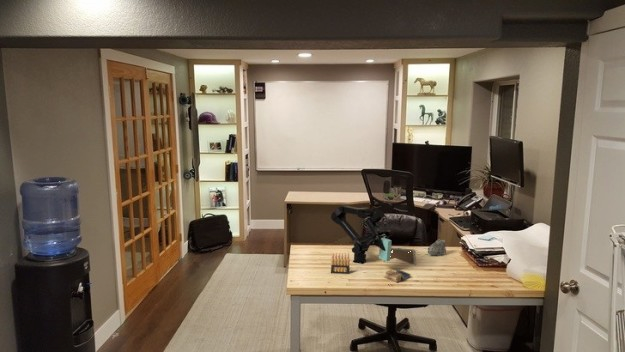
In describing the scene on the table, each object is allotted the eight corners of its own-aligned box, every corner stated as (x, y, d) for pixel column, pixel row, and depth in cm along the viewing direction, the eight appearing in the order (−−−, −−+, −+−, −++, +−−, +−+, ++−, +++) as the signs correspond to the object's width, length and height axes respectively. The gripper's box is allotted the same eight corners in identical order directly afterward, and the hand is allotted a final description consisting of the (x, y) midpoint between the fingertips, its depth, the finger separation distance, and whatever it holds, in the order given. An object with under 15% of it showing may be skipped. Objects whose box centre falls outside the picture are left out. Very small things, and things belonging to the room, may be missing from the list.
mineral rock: (427, 256, 275) (428, 241, 273) (424, 250, 285) (425, 236, 283) (448, 257, 274) (449, 242, 272) (444, 251, 284) (445, 236, 282)
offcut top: (385, 273, 238) (386, 271, 238) (390, 271, 241) (390, 269, 241) (397, 278, 232) (397, 276, 232) (402, 276, 235) (402, 274, 235)
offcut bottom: (385, 277, 239) (385, 275, 239) (390, 275, 242) (390, 273, 241) (396, 282, 233) (396, 280, 233) (401, 280, 236) (401, 278, 235)
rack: (383, 278, 240) (383, 273, 239) (396, 273, 247) (396, 268, 246) (397, 284, 232) (397, 279, 232) (410, 279, 239) (411, 274, 239)
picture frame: (383, 262, 262) (385, 245, 290) (383, 264, 262) (384, 248, 291) (415, 264, 258) (414, 247, 287) (415, 267, 258) (414, 250, 287)
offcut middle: (384, 275, 239) (384, 273, 239) (389, 273, 242) (389, 271, 242) (396, 279, 233) (396, 277, 233) (400, 278, 236) (401, 275, 236)
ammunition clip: (349, 272, 248) (350, 253, 246) (349, 274, 246) (350, 254, 244) (330, 272, 249) (331, 252, 246) (330, 273, 247) (331, 253, 245)
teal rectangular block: (378, 258, 250) (380, 238, 248) (382, 257, 252) (383, 237, 250) (386, 261, 245) (387, 241, 243) (390, 260, 247) (391, 240, 245)
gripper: (369, 222, 242) (384, 246, 235) (391, 216, 253) (405, 239, 247) (359, 232, 249) (372, 256, 243) (380, 226, 261) (394, 249, 254)
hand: (386, 249), depth 246 cm, fingers closed on teal rectangular block, 3 cm apart
